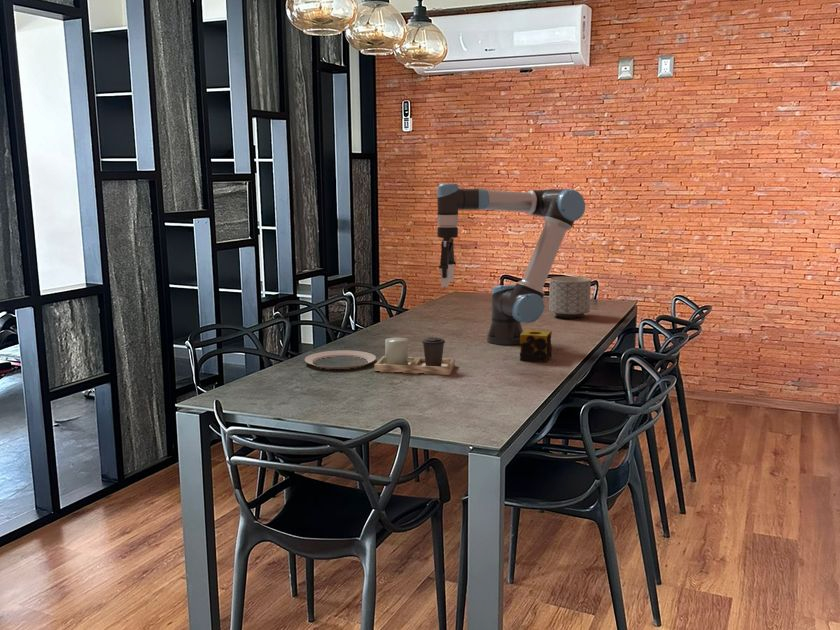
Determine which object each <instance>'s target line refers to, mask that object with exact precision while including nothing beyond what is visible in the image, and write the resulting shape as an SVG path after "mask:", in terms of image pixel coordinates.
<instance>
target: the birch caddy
mask: <svg viewBox="0 0 840 630" xmlns="http://www.w3.org/2000/svg"><path fill="white" fill-rule="evenodd" d="M455 363H456V360H455V358H443V357H442V365H441V367H439V366H426V363H425V357H419V356H418V357H415V356H413V357H412V356H408V365H390V364H385V355H383V356H382V357H380V358H379V359H378V360H377V362H375V363H374V364H373V365H374V371H380V372H379V373H394V372H403V373H402V374H418V373H424V374H425V375H443V376H445V375H446V376H448V375H449V376H450V375H451V374H452V371H453V369H454V368H455V366H456V365H455ZM424 374H423V375H424Z"/></svg>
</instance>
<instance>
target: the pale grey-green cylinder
mask: <svg viewBox="0 0 840 630" xmlns="http://www.w3.org/2000/svg"><path fill="white" fill-rule="evenodd" d="M384 347H385V348H384V350H385V351H384V352H385V353H384V356H385V364H390V365H408V357H409V339H408V338H406V337H390V338H389V337H388V338H385V340H384Z"/></svg>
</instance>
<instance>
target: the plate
mask: <svg viewBox="0 0 840 630" xmlns="http://www.w3.org/2000/svg"><path fill="white" fill-rule="evenodd" d="M336 356H353V357H352V358H355V357H360V358H359V359H361V358H364V359H366V360H367V361H368V363H367V361H366V360H365V361H366V363H362V364H357V365H347V366H346V365H345V366H327V365H317V364H315V362H317V361H316V360H318V359H320V360H323V359H322V358H325V359H328V358H327V357H331V358H337V357H336ZM364 359H363V360H364ZM376 360H377V356H376V355H375V354H374V353H370V352H366V351H361V350H349V349H346V350H344V349H343V350H341V349H339V350H338V349H337V350H328V351H326V350H325V351H321V352H315V353H312V354H309V355H307V356H306V357H305V358H304V361H305V363H306V364H309V365H312V366H314V367H315V366H316V368H318V367H320V368H319V369H322V368H325V369H324V370H330V369H345V370H351V369H350V368H354V369H358V368H357V367H359V368H362V367H361V366H363V367H365V366H367V365H369V364H371V363H372V362H375V361H376ZM314 361H315V362H314ZM318 361H319V360H318ZM313 362H314V364H313ZM366 364H367V365H366ZM364 365H365V366H364Z"/></svg>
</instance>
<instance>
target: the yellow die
mask: <svg viewBox="0 0 840 630" xmlns="http://www.w3.org/2000/svg"><path fill="white" fill-rule="evenodd" d="M552 332H553V331H552V330H545V329H544V330H543V329H525V330H523V333H521V334H520V344H519V345H520V349H519V351H520V352H519V357H520V358H519V361H521V362H532V363H548V362H549V360H551V358H552V356H553V354H552V352H553V351H552V349H553V348H552V343H551V342H552V340H551V338H552V334H553V333H552Z"/></svg>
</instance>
